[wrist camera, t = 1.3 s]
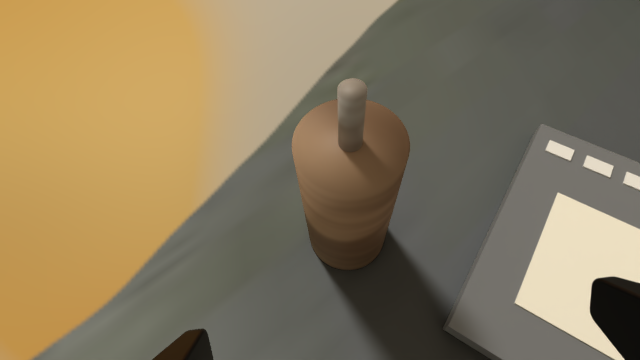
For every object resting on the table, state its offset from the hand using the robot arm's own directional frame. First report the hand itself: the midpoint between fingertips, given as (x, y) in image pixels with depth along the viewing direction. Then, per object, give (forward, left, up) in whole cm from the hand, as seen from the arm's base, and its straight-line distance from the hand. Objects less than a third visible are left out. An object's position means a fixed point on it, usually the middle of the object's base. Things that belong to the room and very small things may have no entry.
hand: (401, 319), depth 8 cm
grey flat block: (+12, -9, -13) cm, 20 cm away
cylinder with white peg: (+6, +5, -13) cm, 15 cm away
